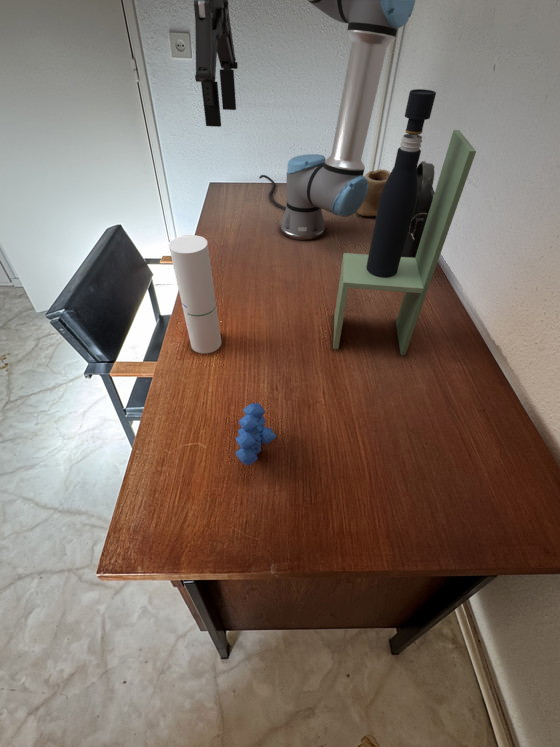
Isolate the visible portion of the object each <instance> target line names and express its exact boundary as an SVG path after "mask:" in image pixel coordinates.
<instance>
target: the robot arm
mask: <svg viewBox="0 0 560 747" xmlns="http://www.w3.org/2000/svg"><path fill="white" fill-rule="evenodd" d="M307 2H309V3H310V4H311V5H313V6H314V7H315V8H317V9H318V10H319V11H321V12H322V13H324V14H325V15H326V16H328V17H330V18H331V19H333V20H335V21H337V22H339V23H343V24H347V29H346V34H347V35H348V37H349V39H350V42H351V44H350V50H349V54H348V61H347V64H346V65H347V66H346V72H345V77H344V82H343V87H342V88H343V89H342V92H341V99H340V104H339V109H338V115H337V121H336V125H335V132H334V137H333V144H332V149H331V154H330V156H328V157H327V158H326V156H324V155H323V154H318V153H316V154H315V153H310V154H301V155H296V156H293V157H291V158H289V160H288V161H287V169H286V206H284V205H282V204H280V203H278V202H276V201H275V200H274V199H273V197H272V194H273V192H274V190H275V187H276V182H275V181H274V180H273V179H272V178H270V177H269V176H268V175H265V174H261V175H260V176H258V179H262V178H263V179H264V178H265V179H266V180H268V181H269V182H270V183H271V184H272V187H271V189H270V191H269V193H268V199H269V200H270V202H271V203H272V204H273V205H275V206H276V207H278V208H280V209H282V210H283V211H284V213H283V216H282V219H281V221H280V232H281V234H282V235H283V236H285V237H286V238H289V239H291V240H295V241H312V240H315V239H316V240H317V239H319V238H320V237H322V236H323V235H324V234H325V229H326V225H325V220H324V215H323V211H322V210H324V211H326V212H328V213H331V214H332V215H335V216H340V217H343V218H348V217H351V216H352V215H354V214H356V211H357V210H358V209H359V208H360V207H361V205H362V204H363V202H364V200H365V198H366V195H367V192H368V180H367V179H366V178H365V177H364V176H365V175H364V174H365V169H366V166H365V165H364V162H363V161H362V159H363V153H364V150H365V145H366V140H367V136H368V132H369V127H370V123H371V120H372V114H373V110H374V106H375V102H376V96H377V93H378V88H379V85H380V84H379V83H380V79H381V74H382V71H383V67H384V63H385V62H384V61H385V57H386V53H387V49H388V48H389V46H390V45H391V44H392V43H394V41H395V40H396V39H397V38H396V37H397V35H398V34H397V33H398V29H400V28H402V27H404V26H405V25H406V24H407V23H408V22H409V18H410V17H411V16H412V14H413V11H414V9H415V8H414V7H415V4H416V0H307ZM193 9H194V22H195V23H194V26H195V27H194V28H195V30H194V31H195V32H194V33H195V35H194V36H195V37H194V38H195V74H194V79H195V82H196V83H200V84H201V93H202V94H201V96H202V102H203V111H204V119H205V126H206V127H214V128H215V127H217V128H221V127H222V116H221V107H222V110H226V111H237V101H236V100H237V99H236V87H235V86H236V84H235V71H234V70H237V69H238V68H239V67H238V61H237V59H236V53H235V46H234V39H233V33H232V32H233V31H232V26H231V19H230V10H229V9H230V8H229V0H193ZM217 56H218V57H217ZM217 59H218V61H219V65H220V68H221V69H219V79H220V80H219V82H220V92H221V94H219V86H218V85H219V84H218V81H216V78H217V76H216V73H217ZM220 95H221V104H222V106H220Z"/></svg>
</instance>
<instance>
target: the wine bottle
mask: <svg viewBox="0 0 560 747" xmlns="http://www.w3.org/2000/svg"><path fill="white" fill-rule="evenodd" d="M436 95H437V91H435V90H431V89H425V88H424V89H421V88H416V89H411V90H410V91H409V93H408V98H407V102H406V107H405V112H404V117H405V118H406V119H407V124H406V128H405V134H403V135H402V137H401V139H400V141H401V142H400V143H399V144H400V147H398V148H397V151H396V155H395V161H394V166H393V167H392V170H391V171H390V172H391V173H390V175H389V177H388V179H387V181H386V183H385V186H384V188H383V191H382V193H381V196H380V201H379V206H378V211H377V216H375V220H374V227H373V231H372V236H371V240H370V241H371V242H370V246H369V253H368V255H369V256H368V261H367V266H366V268H367V271H368V272H369V273H370V274H372V275H374V276H377V277H383V278H387V277H392V276H394V275H395V274H396V273H397V271H398V267H399V263H400V259H401V256H402V252H403V248H404V244H405V241H406V237H407V233H408V230H409V226H410V222H411V218H412V215H413V211H414V207H415V203H416V199H417V187H418V182H417V167H418V165H419V161H420V156H421V153H422V150H421V147H422V143H423V136H422V135H421V134H422V133H423V131H424V130H423V129H424V125H425V121H427V120H429V119H430V118H431V115H432V112H433V107H434V103H435V98H436Z"/></svg>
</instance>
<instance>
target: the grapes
mask: <svg viewBox="0 0 560 747" xmlns="http://www.w3.org/2000/svg"><path fill="white" fill-rule="evenodd" d="M242 411H243V413H244V416H242V417H241V418H240V419H239V420H238V424H239V426H240V428H239V429H238V430H237V433H238V435H237V436H236V437H235V439H234V440H235V442H236V444H237V445H238V446H239V448H238V449H237V450H236V452H235V455H236V457H237V459H238V460H239V462H241V463H242V464H243V465H245V466H251V465H252V464H253V463H255V462H256V461H258V459H259V457H258V456H257V455H258V454H259V453H260V452H262V449H261V448H262V445H263V444H264V445H267V444H270V443H272V442H273V441H274V440H275V439H277V435H276V434H275V432H274V430H273V429H272V428H271V427H268V426H267V427H265V426H266V422H267V420H266V419H265V417H264V416H263V415H265V413H266V411H265V408H264V407H263V406H262V405H261V403H259V402H255V403H253V402H252V403H249V404H248V405H246V407H244V408H243V409H242Z"/></svg>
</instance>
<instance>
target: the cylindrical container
mask: <svg viewBox="0 0 560 747" xmlns="http://www.w3.org/2000/svg"><path fill="white" fill-rule="evenodd" d="M168 248H169V253H170V257H171V261H172V266H173V270H174V275H175V279H176V284H177V289H178V292H179V297H180V303H181V307H182V311H183V316H184V320H185V324H186V330H187V333H188V338H189V343H190V347H191V349H192V350H193V351H194V352H196V353H199V354H205V355H206V354H210V353H214V352H215V351H218V349H219V348H220V347H221V346H222V337H221V336H222V335H221V329H220V328H221V327H220V322H219V316H218V308H217V302H216V301H217V300H216V293H215V287H214V279H213V273H212V265H211V257H210V250H209V244H208V240H207V239H206V238H205V237H204V236H201V235H195V234H187V235H181V236H177V237H176V238H173V239H172V240H170V242H169V244H168Z"/></svg>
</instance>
